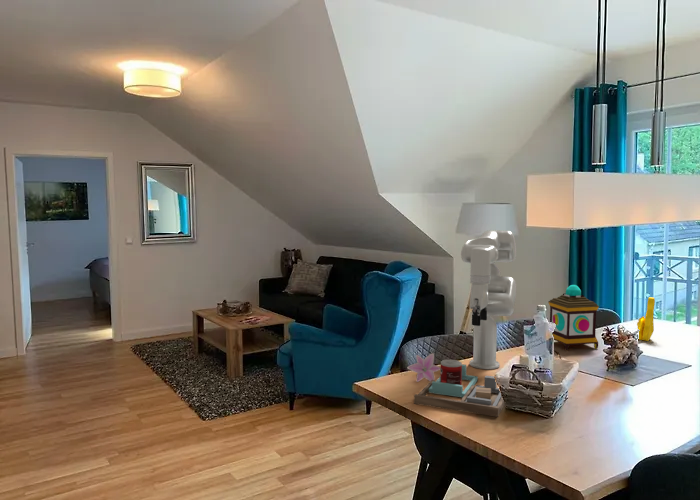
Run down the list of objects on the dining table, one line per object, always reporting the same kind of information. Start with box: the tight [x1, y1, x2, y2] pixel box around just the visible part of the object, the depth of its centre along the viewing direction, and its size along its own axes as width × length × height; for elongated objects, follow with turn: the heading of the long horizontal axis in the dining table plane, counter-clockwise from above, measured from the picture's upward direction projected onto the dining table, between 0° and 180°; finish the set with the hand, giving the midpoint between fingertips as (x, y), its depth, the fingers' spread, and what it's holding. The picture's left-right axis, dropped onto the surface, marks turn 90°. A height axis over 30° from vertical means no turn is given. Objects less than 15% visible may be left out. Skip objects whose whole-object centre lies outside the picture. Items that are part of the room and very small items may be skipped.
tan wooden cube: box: [475, 386, 492, 400], centre depth 196 cm, size 5×5×5 cm
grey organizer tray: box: [465, 375, 502, 406], centre depth 199 cm, size 22×10×6 cm, turn 155°
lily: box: [407, 352, 441, 383], centre depth 223 cm, size 12×12×10 cm
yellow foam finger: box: [636, 296, 656, 342], centre depth 284 cm, size 18×8×22 cm, turn 142°
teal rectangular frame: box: [428, 363, 479, 399], centre depth 214 cm, size 22×13×6 cm, turn 155°
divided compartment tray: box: [413, 379, 505, 418], centre depth 200 cm, size 22×29×3 cm
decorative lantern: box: [548, 284, 600, 352], centre depth 273 cm, size 20×20×30 cm
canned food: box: [439, 359, 463, 385], centre depth 209 cm, size 8×8×11 cm
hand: (479, 322), depth 220 cm, fingers open, 9 cm apart
